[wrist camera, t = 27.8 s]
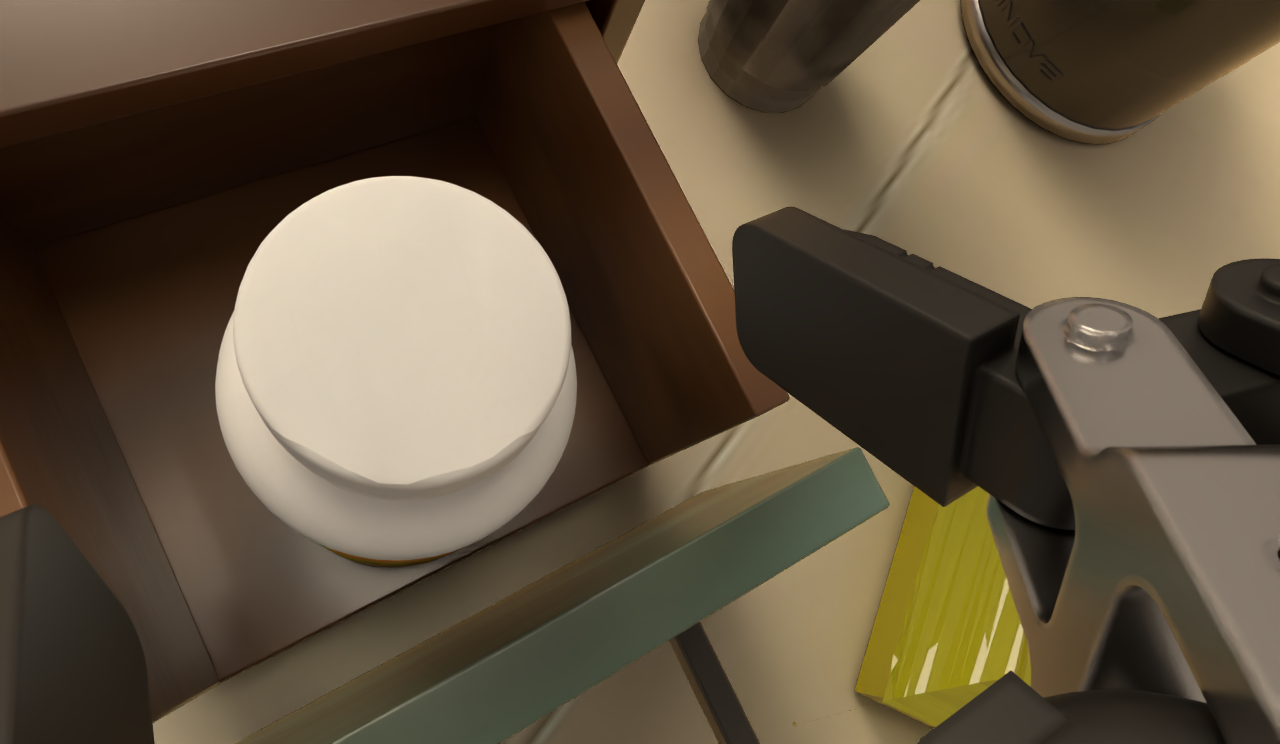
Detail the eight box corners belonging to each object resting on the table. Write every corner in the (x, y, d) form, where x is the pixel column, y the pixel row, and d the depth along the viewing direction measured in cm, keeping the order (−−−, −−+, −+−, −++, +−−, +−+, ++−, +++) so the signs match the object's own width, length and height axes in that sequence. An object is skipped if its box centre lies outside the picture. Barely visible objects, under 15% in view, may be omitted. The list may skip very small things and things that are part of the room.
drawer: (816, 714, 21) (1037, 782, 14) (308, 1073, 16) (243, 1463, 9) (508, 100, 23) (563, -122, 16) (-34, 257, 18) (-317, 41, 11)
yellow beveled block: (891, 402, 25) (951, 381, 23) (1121, 526, 27) (1202, 520, 24) (790, 724, 22) (845, 744, 19) (1060, 847, 23) (1146, 881, 21)
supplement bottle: (224, 505, 17) (47, 422, 8) (350, 298, 19) (316, 47, 10) (453, 606, 18) (517, 629, 9) (552, 398, 20) (686, 249, 11)
